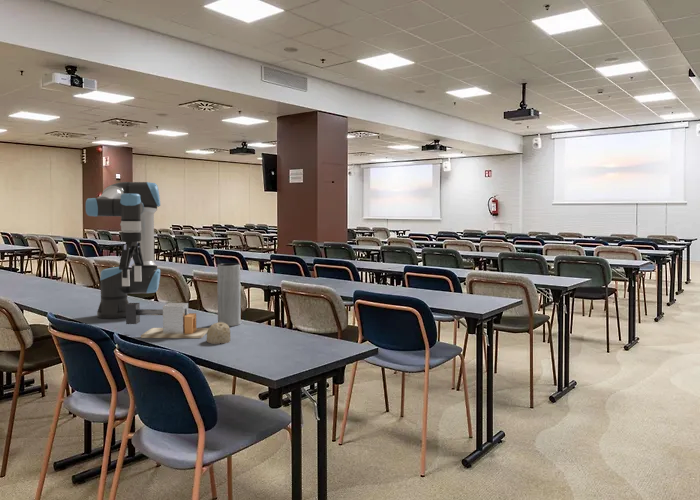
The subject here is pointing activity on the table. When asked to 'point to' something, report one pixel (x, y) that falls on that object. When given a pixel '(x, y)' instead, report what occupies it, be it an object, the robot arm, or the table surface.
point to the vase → (229, 294)
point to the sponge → (218, 333)
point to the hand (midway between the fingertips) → (132, 283)
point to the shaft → (138, 312)
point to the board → (159, 334)
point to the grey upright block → (174, 318)
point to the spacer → (190, 323)
